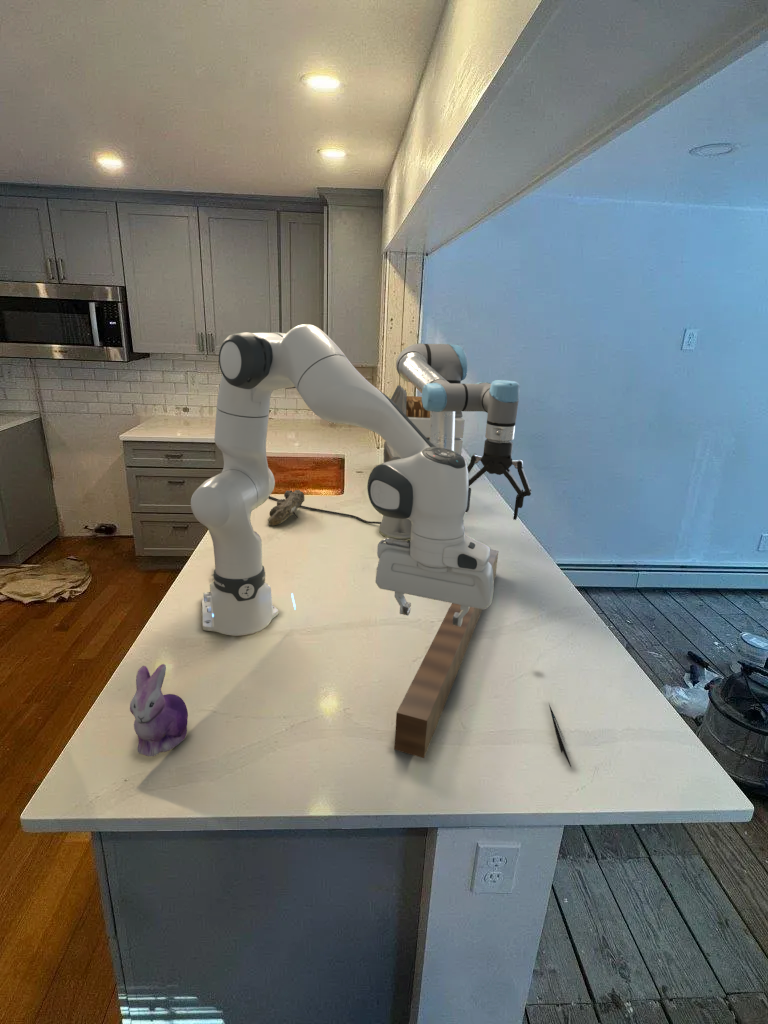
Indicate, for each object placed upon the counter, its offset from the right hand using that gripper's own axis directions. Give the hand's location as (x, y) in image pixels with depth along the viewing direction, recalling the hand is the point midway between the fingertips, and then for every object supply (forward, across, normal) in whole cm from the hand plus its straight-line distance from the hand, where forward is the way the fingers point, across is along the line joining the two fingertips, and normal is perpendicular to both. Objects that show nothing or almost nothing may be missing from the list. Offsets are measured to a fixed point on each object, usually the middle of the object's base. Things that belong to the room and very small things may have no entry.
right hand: (490, 514), depth 159 cm
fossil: (+22, -77, +24) cm, 84 cm away
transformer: (+22, -50, +106) cm, 119 cm away
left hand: (-2, 0, -66) cm, 66 cm away
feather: (+22, +23, -52) cm, 61 cm away
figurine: (+22, -43, -86) cm, 99 cm away
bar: (+22, 0, -33) cm, 39 cm away
